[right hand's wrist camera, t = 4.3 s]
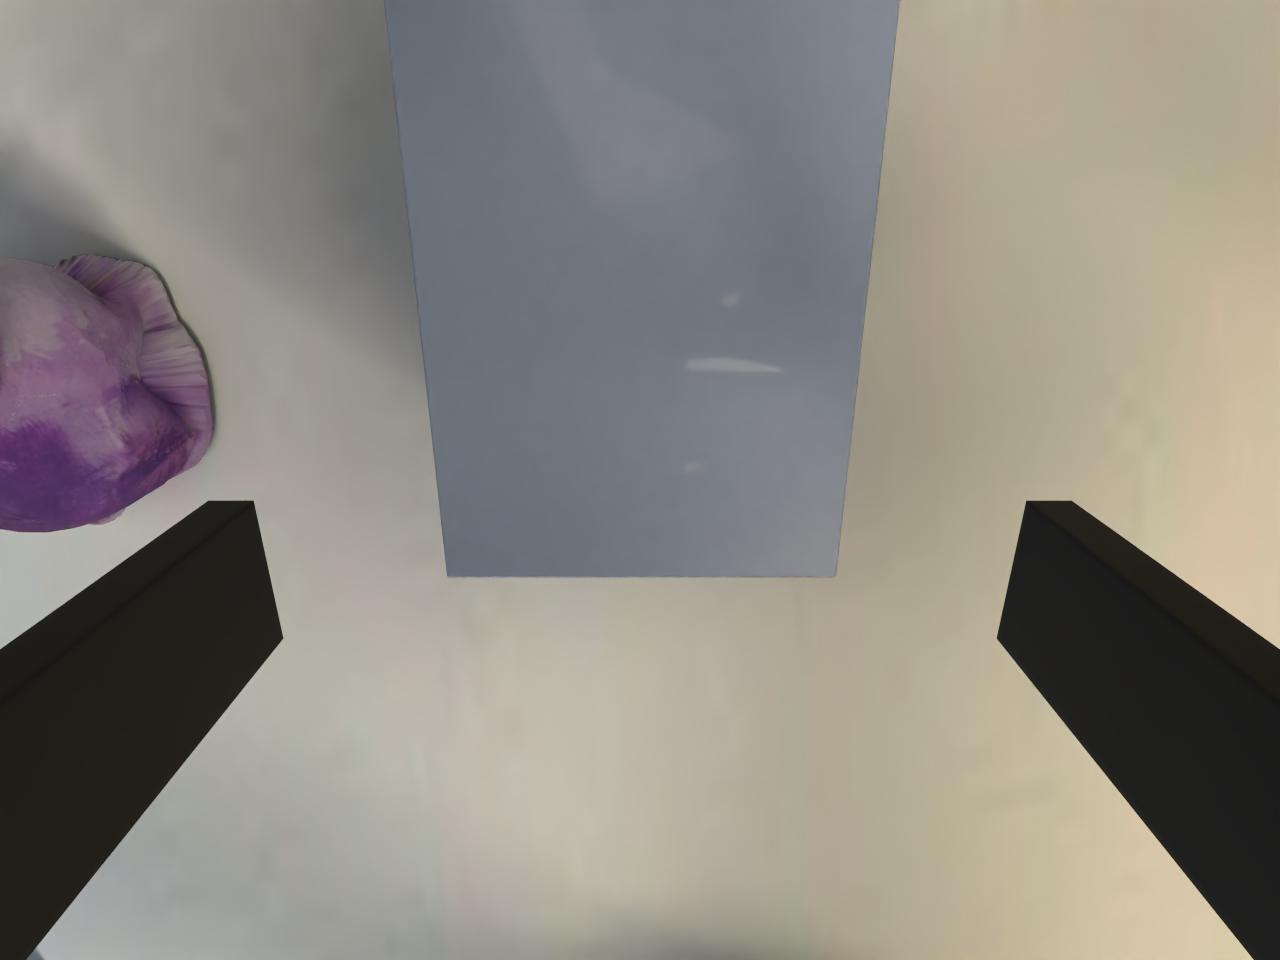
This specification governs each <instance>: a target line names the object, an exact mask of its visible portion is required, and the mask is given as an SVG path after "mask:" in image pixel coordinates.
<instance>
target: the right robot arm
mask: <svg viewBox="0 0 1280 960" xmlns="http://www.w3.org/2000/svg"><path fill="white" fill-rule="evenodd" d="M282 639H283V635H282V630H281V626H280V621H279V616H278V612H277V607H276V603H275V598H274V593H273V589H272V584H271V579H270V575H269V570H268V566H267V561H266V556H265V552H264V547H263V542H262V538H261V533H260V528H259V524H258V519H257V515H256V510H255V505H254V501H207V502H206V503H205V504H203V505H202V506H200V507H199V508H198V509H196V510H195V511H193V512H192V513H191V514H189V515H188V516H186V517H185V518H184V519H182V520H181V521H179V522H178V523H177V524H175V525H174V526H172V527H171V528H170V529H168V530H167V531H165V532H164V533H163V534H161V535H160V536H158V537H157V538H156V539H154V540H153V541H151V542H150V543H149V544H147V545H146V546H144V547H143V548H142V549H140V550H139V551H137V552H136V553H135V554H133V555H132V556H130V557H129V558H128V559H126V560H125V561H123V562H122V563H121V564H119V565H118V566H116V567H115V568H114V569H112V570H111V571H109V572H108V573H107V574H105V575H104V576H102V577H101V578H100V579H98V580H97V581H95V582H94V583H93V584H91V585H90V586H88V587H87V588H86V589H84V590H83V591H81V592H80V593H79V594H77V595H76V596H74V597H73V598H72V599H70V600H69V601H67V602H66V603H65V604H63V605H62V606H60V607H59V608H58V609H56V610H55V611H53V612H52V613H51V614H49V615H48V616H46V617H45V618H44V619H42V620H41V621H39V622H38V623H37V624H35V625H34V626H32V627H31V628H30V629H28V630H27V631H25V632H24V633H23V634H21V635H20V636H18V637H17V638H16V639H14V640H13V641H11V642H10V643H9V644H7V645H6V646H4V647H3V648H2V649H0V960H26V959H27V958H28V957H29V955H30V954H31V953H32V952H33V950H34V949H35V948H36V947H37V945H38V944H39V943H40V942H41V940H42V939H43V938H44V937H45V935H46V934H47V933H48V932H49V930H50V929H51V928H52V927H53V925H54V924H55V923H56V922H57V920H58V919H59V918H60V917H61V915H62V914H63V913H64V912H65V910H66V909H67V908H68V907H69V905H70V904H71V903H72V902H73V900H74V899H75V898H76V897H77V896H78V894H79V893H80V892H81V891H82V889H83V888H84V887H85V886H86V884H87V883H88V882H89V881H90V879H91V878H92V877H93V876H94V874H95V873H96V872H97V871H98V869H99V868H100V867H101V866H102V864H103V863H104V862H105V861H106V859H107V858H108V857H109V856H110V854H111V853H112V852H113V851H114V849H115V848H116V847H117V846H118V844H119V843H120V842H121V841H122V839H123V838H124V837H125V836H126V834H127V833H128V832H129V831H130V829H131V828H132V827H133V826H134V824H135V823H136V822H137V821H138V819H139V818H140V817H141V816H142V814H143V813H144V812H145V811H146V809H147V808H148V807H149V806H150V804H151V803H152V802H153V801H154V799H155V798H156V797H157V796H158V794H159V793H160V792H161V791H162V789H163V788H164V787H165V786H166V784H167V783H168V782H169V781H170V779H171V778H172V777H173V776H174V774H175V773H176V772H177V771H178V769H179V768H180V767H181V766H182V764H183V763H184V762H185V761H186V759H187V758H188V757H189V756H190V754H191V753H192V752H193V751H194V749H195V748H196V747H197V746H198V744H199V743H200V742H201V741H202V739H203V738H204V737H205V736H206V734H207V733H208V732H209V731H210V729H211V728H212V727H213V726H214V724H215V723H216V722H217V721H218V719H219V718H220V717H221V716H222V714H223V713H224V712H225V711H226V709H227V708H228V707H229V706H230V704H231V703H232V702H233V701H234V699H235V698H236V697H237V696H238V694H239V693H240V692H241V691H242V689H243V688H244V687H245V686H246V684H247V683H248V682H249V681H250V679H251V678H252V677H253V676H254V674H255V673H256V672H257V671H258V669H259V668H260V667H261V666H262V664H263V663H264V662H265V661H266V659H267V658H268V657H269V656H270V654H271V653H272V652H273V651H274V649H275V648H276V647H277V646H278V644H279V643H280V642H281V641H282ZM997 639H998V641H999V642H1000V643H1001V644H1002V646H1003V647H1004V648H1005V649H1006V651H1007V652H1008V653H1009V654H1010V656H1011V657H1012V658H1013V659H1014V661H1015V662H1016V663H1017V664H1018V666H1019V667H1020V668H1021V669H1022V671H1023V672H1024V673H1025V674H1026V676H1027V677H1028V678H1029V679H1030V681H1031V682H1032V683H1033V684H1034V686H1035V687H1036V688H1037V689H1038V691H1039V692H1040V693H1041V694H1042V696H1043V697H1044V698H1045V699H1046V701H1047V702H1048V703H1049V704H1050V706H1051V707H1052V708H1053V709H1054V711H1055V712H1056V713H1057V714H1058V716H1059V717H1060V718H1061V719H1062V721H1063V722H1064V723H1065V724H1066V726H1067V727H1068V728H1069V729H1070V731H1071V732H1072V733H1073V734H1074V736H1075V737H1076V738H1077V739H1078V741H1079V742H1080V743H1081V744H1082V746H1083V747H1084V748H1085V749H1086V751H1087V752H1088V753H1089V754H1090V756H1091V757H1092V758H1093V759H1094V761H1095V762H1096V763H1097V764H1098V766H1099V767H1100V768H1101V769H1102V771H1103V772H1104V773H1105V774H1106V776H1107V777H1108V778H1109V779H1110V781H1111V782H1112V783H1113V784H1114V786H1115V787H1116V788H1117V789H1118V791H1119V792H1120V793H1121V794H1122V796H1123V797H1124V798H1125V799H1126V801H1127V802H1128V803H1129V804H1130V806H1131V807H1132V808H1133V809H1134V811H1135V812H1136V813H1137V814H1138V816H1139V817H1140V818H1141V819H1142V821H1143V822H1144V823H1145V824H1146V826H1147V827H1148V828H1149V829H1150V831H1151V832H1152V833H1153V834H1154V836H1155V837H1156V838H1157V839H1158V841H1159V842H1160V843H1161V844H1162V846H1163V847H1164V848H1165V849H1166V851H1167V852H1168V853H1169V854H1170V856H1171V857H1172V858H1173V859H1174V861H1175V862H1176V863H1177V864H1178V866H1179V867H1180V868H1181V869H1182V871H1183V872H1184V873H1185V874H1186V876H1187V877H1188V878H1189V879H1190V881H1191V882H1192V883H1193V884H1194V886H1195V887H1196V888H1197V889H1198V891H1199V892H1200V893H1201V894H1202V896H1203V897H1204V898H1205V899H1206V900H1207V902H1208V903H1209V904H1210V905H1211V907H1212V908H1213V909H1214V910H1215V912H1216V913H1217V914H1218V915H1219V917H1220V918H1221V919H1222V920H1223V922H1224V923H1225V924H1226V925H1227V927H1228V928H1229V929H1230V930H1231V932H1232V933H1233V934H1234V935H1235V937H1236V938H1237V939H1238V940H1239V942H1240V943H1241V944H1242V945H1243V947H1244V948H1245V949H1246V950H1247V952H1248V953H1249V954H1250V955H1251V957H1252V958H1253V959H1254V960H1280V649H1278V648H1277V647H1276V646H1274V645H1273V644H1271V643H1270V642H1269V641H1267V640H1266V639H1264V638H1263V637H1262V636H1260V635H1259V634H1257V633H1256V632H1255V631H1253V630H1252V629H1250V628H1249V627H1248V626H1246V625H1245V624H1243V623H1242V622H1241V621H1239V620H1238V619H1236V618H1235V617H1234V616H1232V615H1231V614H1229V613H1228V612H1227V611H1225V610H1224V609H1222V608H1221V607H1220V606H1218V605H1217V604H1215V603H1214V602H1213V601H1211V600H1210V599H1208V598H1207V597H1206V596H1204V595H1203V594H1201V593H1200V592H1199V591H1197V590H1196V589H1194V588H1193V587H1192V586H1190V585H1189V584H1187V583H1186V582H1185V581H1183V580H1182V579H1180V578H1179V577H1178V576H1176V575H1175V574H1173V573H1172V572H1171V571H1169V570H1168V569H1166V568H1165V567H1164V566H1162V565H1161V564H1159V563H1158V562H1157V561H1155V560H1154V559H1152V558H1151V557H1150V556H1148V555H1147V554H1145V553H1144V552H1143V551H1141V550H1140V549H1138V548H1137V547H1136V546H1134V545H1133V544H1131V543H1130V542H1129V541H1127V540H1126V539H1124V538H1123V537H1122V536H1120V535H1119V534H1117V533H1116V532H1115V531H1113V530H1112V529H1110V528H1109V527H1108V526H1106V525H1105V524H1103V523H1102V522H1101V521H1099V520H1098V519H1096V518H1095V517H1094V516H1092V515H1091V514H1089V513H1088V512H1087V511H1085V510H1084V509H1082V508H1081V507H1080V506H1078V505H1077V504H1075V503H1074V502H1073V501H1026V505H1025V510H1024V515H1023V519H1022V524H1021V528H1020V533H1019V538H1018V542H1017V547H1016V552H1015V556H1014V561H1013V566H1012V570H1011V575H1010V579H1009V584H1008V589H1007V593H1006V598H1005V603H1004V607H1003V612H1002V616H1001V621H1000V626H999V630H998V635H997Z"/></svg>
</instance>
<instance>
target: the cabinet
mask: <svg viewBox="0 0 1280 960" xmlns="http://www.w3.org/2000/svg"><path fill="white" fill-rule="evenodd" d="M384 3H385V13H386V22H387V31H388V40H389V49H390V58H391V68H392V77H393V86H394V95H395V104H396V113H397V122H398V132H399V141H400V150H401V159H402V168H403V177H404V186H405V196H406V205H407V214H408V223H409V232H410V241H411V251H412V260H413V269H414V278H415V287H416V296H417V305H418V315H419V324H420V333H421V342H422V351H423V360H424V370H425V379H426V388H427V397H428V406H429V415H430V424H431V434H432V443H433V452H434V461H435V470H436V479H437V489H438V498H439V507H440V516H441V525H442V534H443V543H444V553H445V562H446V571H447V576H448V577H835V576H836V572H837V563H838V554H839V545H840V536H841V527H842V518H843V509H844V500H845V491H846V482H847V473H848V464H849V455H850V446H851V437H852V428H853V419H854V410H855V401H856V392H857V383H858V374H859V365H860V356H861V347H862V338H863V329H864V320H865V311H866V302H867V293H868V284H869V275H870V266H871V257H872V248H873V239H874V230H875V221H876V212H877V203H878V194H879V185H880V176H881V167H882V158H883V148H884V139H885V130H886V121H887V112H888V103H889V94H890V85H891V76H892V67H893V58H894V49H895V40H896V31H897V22H898V13H899V4H900V0H384Z"/></svg>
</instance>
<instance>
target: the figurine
mask: <svg viewBox="0 0 1280 960" xmlns="http://www.w3.org/2000/svg"><path fill="white" fill-rule="evenodd" d="M213 429H214V428H213V421H212V411H211V401H210V392H209V384H208V377H207V373H206V370H205V366H204V363H203V360H202V352H201V350H200V349H199V348H198V347H197V345H196V344H195V342H194V341H193V339H192V338H191V336H190V335H189V333H188V332H187V331H186V329H185V328H184V327H183V325H182V324H181V323H180V322H179V321H178V320H177V316H176V313H175V312H174V310H173V308H172V307H171V303H170V299H169V298H168V296H167V292H166V289H165V287H164V286H163V284H162V282H161V281H160V279H159V277H158V276H157V274H156V273H155V272H154V271H153V270H152V269H151V268H148V267H145V266H144V265H142V264H141V263H137V262H134V261H128V260H127V261H125V262H124V261H122V260H121V259H119V260H116V259H114V258H111V259H109V258H108V257H107V256H106V257H104V258H102V257H101V256H100V255H99V256H94V255H81V256H80V257H77V256H73V257H72V258H71V259H70V260H61V261H60V262H59V263H58V264H57V265H56V266H55V267H54V268H53V267H51V266H47V265H44V264H41V263H38V262H33V261H28V260H20V259H13V258H0V529H4V530H10V531H17V532H52V531H58V530H65V529H71V528H75V527H79V526H83V525H86V524H90V525H102V524H105V523H108V522H110V521H113V520H114V519H116V518H117V517H119V516H120V515H121V514H122V513H123V512H124V510H125V508H126V507H127V506H129V505H131V504H132V503H134V502H136V501H137V500H139V499H140V498H142V497H144V496H145V495H147V494H148V493H150V492H152V491H153V490H155V489H157V488H158V487H160V486H162V485H163V484H164V483H165V482H166V481H167V480H169V479H171V478H173V477H174V476H176V475H178V474H180V473H182V472H184V471H186V470H188V469H190V468H192V467H194V466H195V465H196V464H197V463H198V462H199V461H200V460H201V458H202V457H203V455H204V454H205V452H206V450H207V449H208V447H209V445H210V442H211V439H212V434H213Z"/></svg>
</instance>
